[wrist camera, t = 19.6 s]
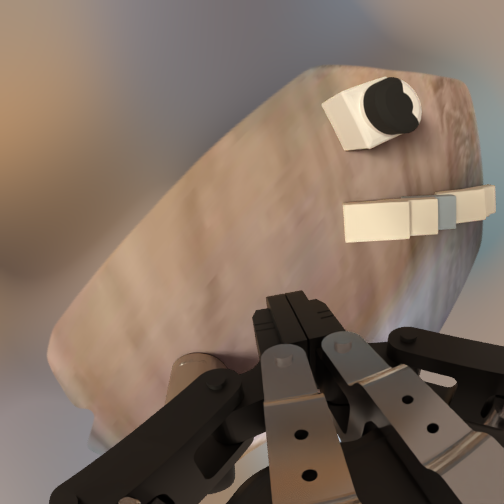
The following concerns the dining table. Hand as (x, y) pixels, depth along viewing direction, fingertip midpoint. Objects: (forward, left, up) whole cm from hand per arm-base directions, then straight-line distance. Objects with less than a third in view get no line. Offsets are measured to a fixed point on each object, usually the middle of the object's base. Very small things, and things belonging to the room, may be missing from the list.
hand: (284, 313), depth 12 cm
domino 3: (-3, -23, -24) cm, 33 cm away
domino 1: (-3, -13, -24) cm, 27 cm away
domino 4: (-2, -30, -24) cm, 39 cm away
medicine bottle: (+11, -16, -25) cm, 32 cm away
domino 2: (-3, -18, -24) cm, 31 cm away
